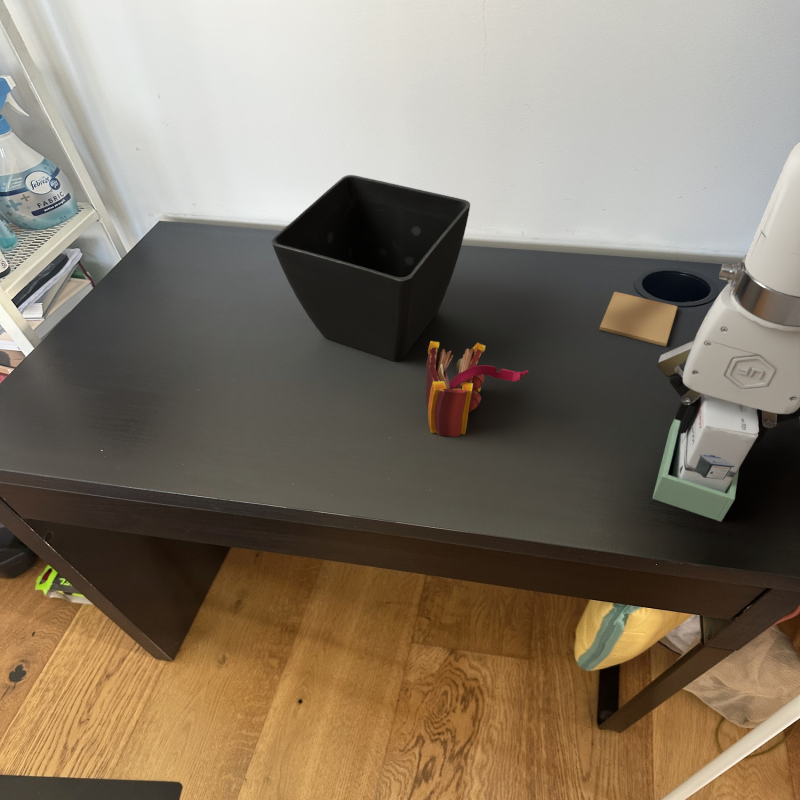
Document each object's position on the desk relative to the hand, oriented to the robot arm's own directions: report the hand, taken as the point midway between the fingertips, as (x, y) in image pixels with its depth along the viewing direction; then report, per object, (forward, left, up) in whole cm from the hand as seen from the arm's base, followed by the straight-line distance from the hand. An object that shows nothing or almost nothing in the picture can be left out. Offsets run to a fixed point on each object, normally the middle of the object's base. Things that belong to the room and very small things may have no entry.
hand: (714, 432), depth 65 cm
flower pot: (+44, -9, -7) cm, 45 cm away
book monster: (+26, +2, -7) cm, 27 cm away
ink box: (0, 0, -7) cm, 7 cm away
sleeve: (0, 0, -7) cm, 7 cm away
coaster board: (+11, -25, -7) cm, 28 cm away
